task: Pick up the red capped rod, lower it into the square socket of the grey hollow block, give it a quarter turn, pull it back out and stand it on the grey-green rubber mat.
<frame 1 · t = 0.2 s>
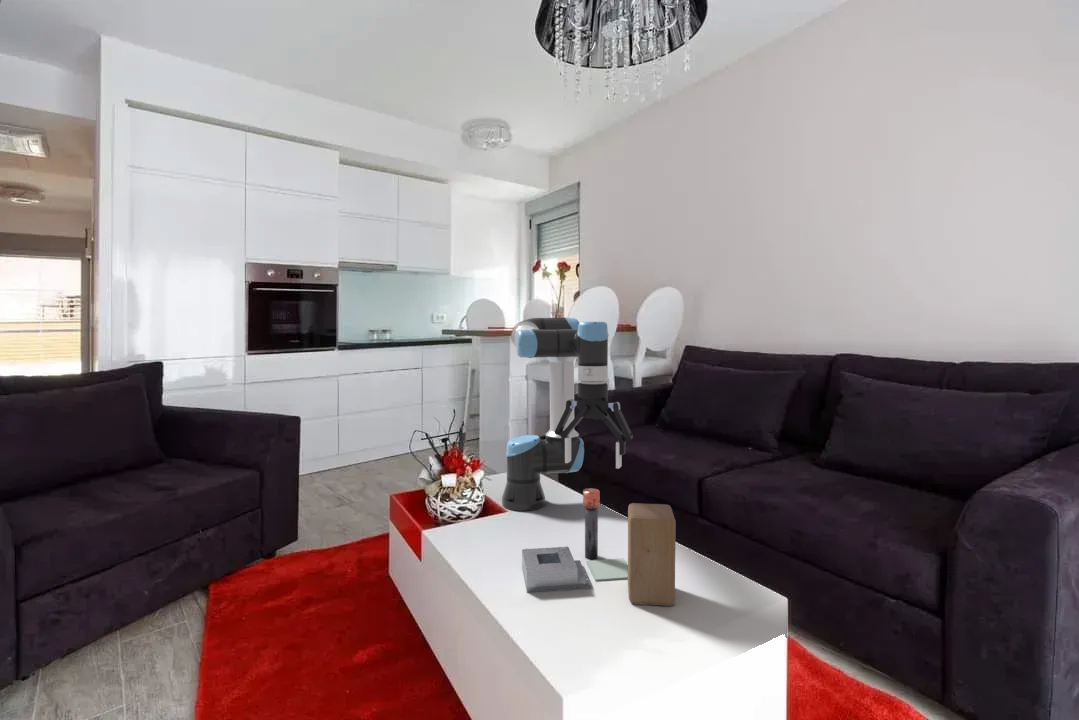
hand: (592, 464, 132), 26 cm above the table, fingers open, 13 cm apart
grey hollow block: (554, 577, 126), on the table
red capped rod: (591, 556, 138), on the table
mat: (610, 570, 130), on the table
wooden block: (650, 595, 118), on the table
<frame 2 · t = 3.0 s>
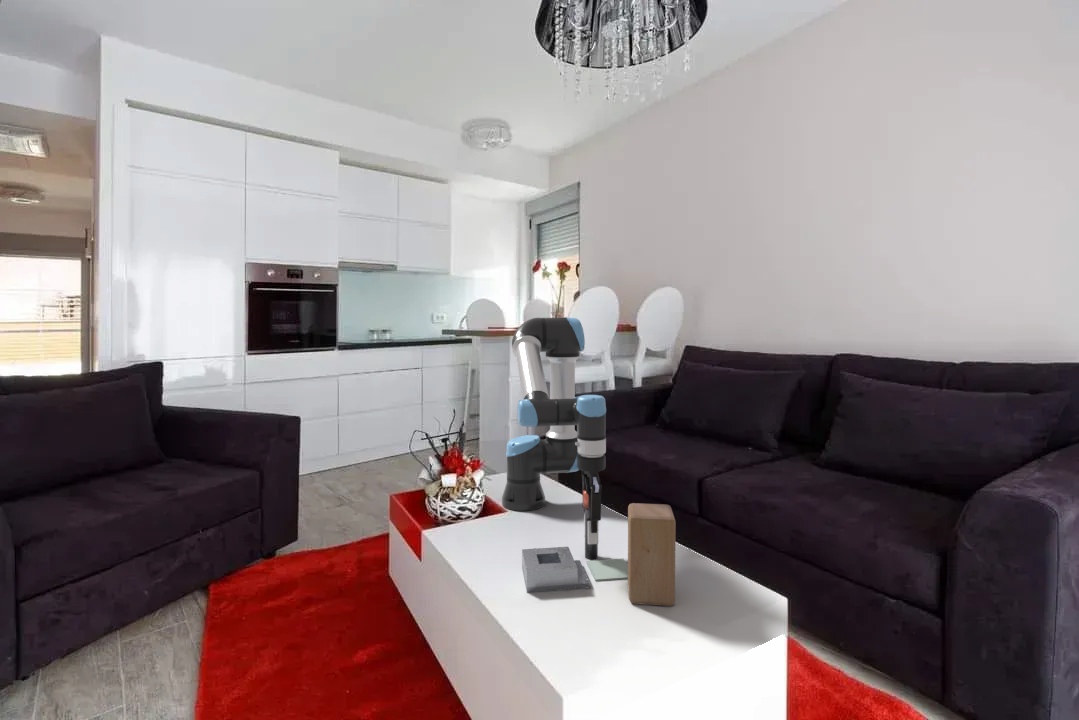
hand: (591, 540, 137), 5 cm above the table, fingers closed on red capped rod, 3 cm apart
red capped rod: (591, 556, 138), on the table, touching gripper
everything else where it was.
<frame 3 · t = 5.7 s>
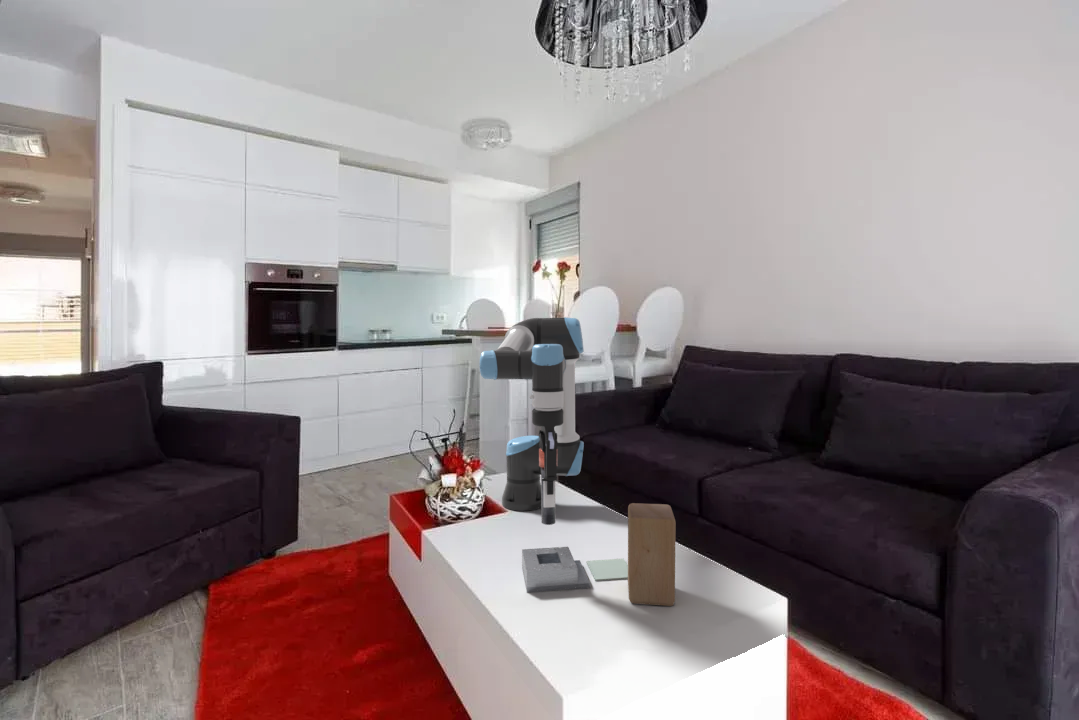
hand: (548, 503, 125), 19 cm above the table, fingers closed on red capped rod, 3 cm apart
red capped rod: (548, 522, 125), point 14 cm above the table, touching gripper
everything else where it was.
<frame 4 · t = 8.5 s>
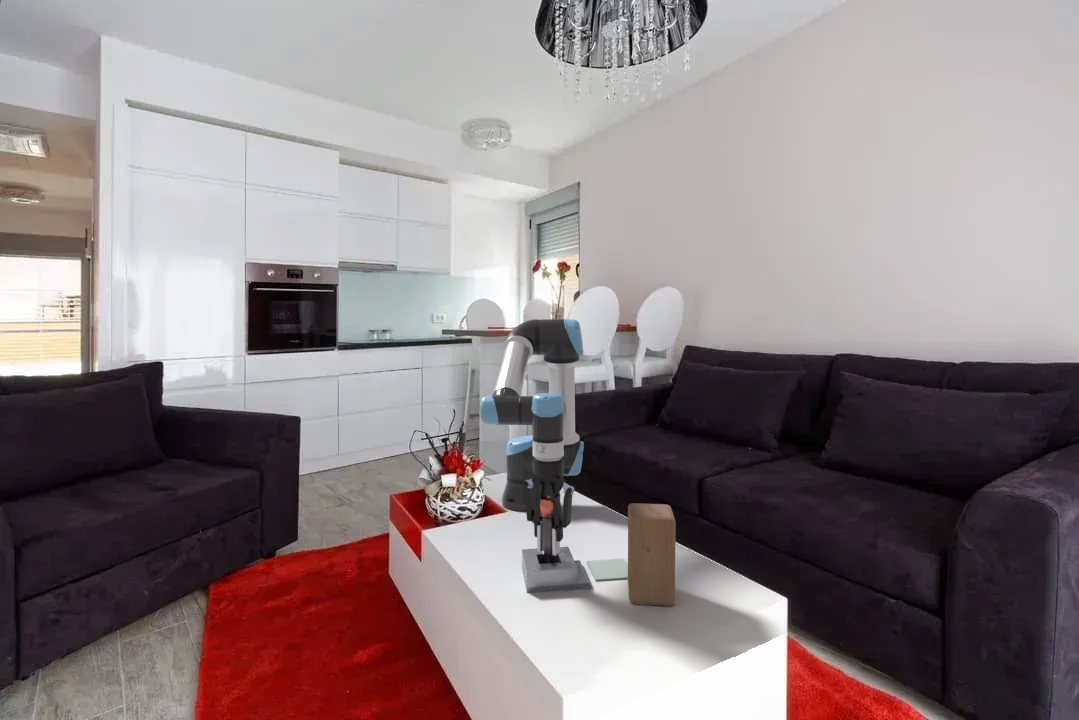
hand: (548, 551, 126), 7 cm above the table, fingers closed on red capped rod, 3 cm apart
red capped rod: (548, 569, 126), point 2 cm above the table, touching gripper
everything else where it was.
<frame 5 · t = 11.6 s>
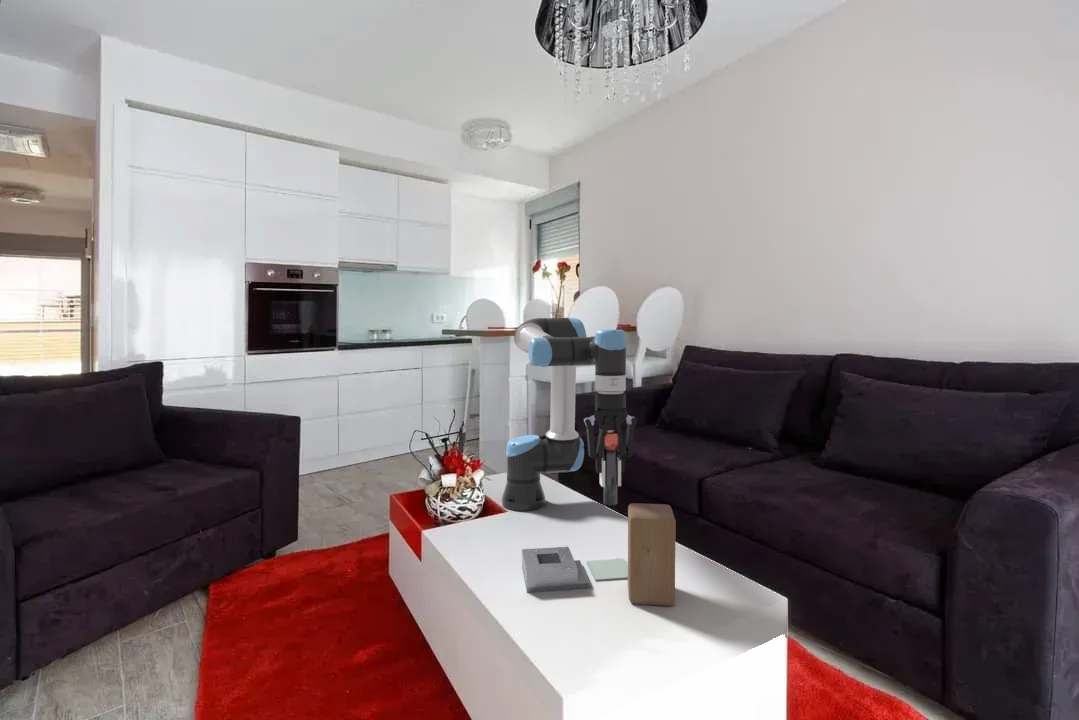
hand: (610, 484, 129), 22 cm above the table, fingers closed on red capped rod, 3 cm apart
red capped rod: (610, 503, 129), point 17 cm above the table, touching gripper
everything else where it was.
when the fingers open (6 cm above the table, at t = 14.2 s): red capped rod stays where it is, resting on mat.
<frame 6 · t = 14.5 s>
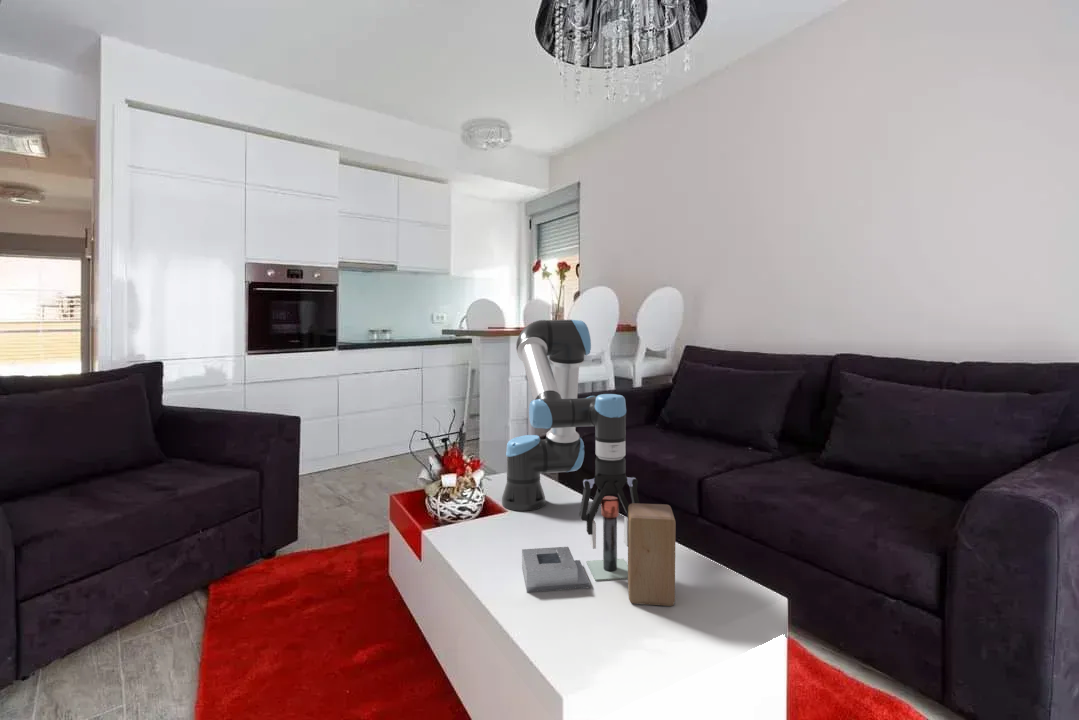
hand: (610, 545, 130), 6 cm above the table, fingers open, 8 cm apart
red capped rod: (610, 568, 130), resting on mat
everything else where it was.
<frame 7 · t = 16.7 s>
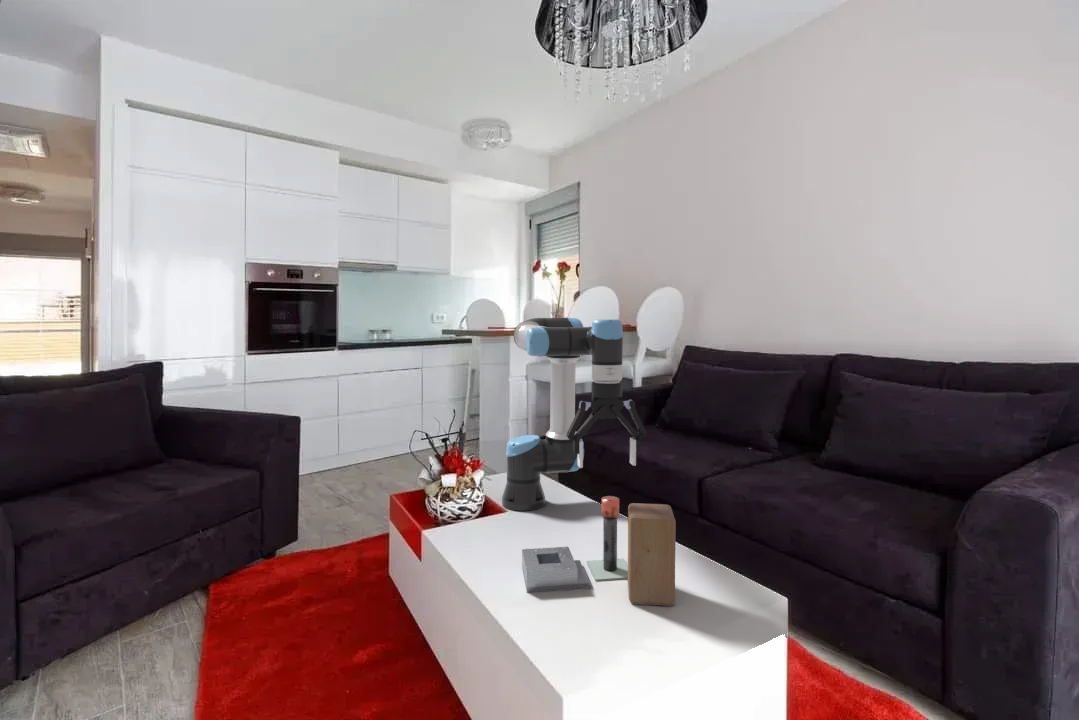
hand: (606, 465, 129), 27 cm above the table, fingers open, 13 cm apart
nothing on the table moved.
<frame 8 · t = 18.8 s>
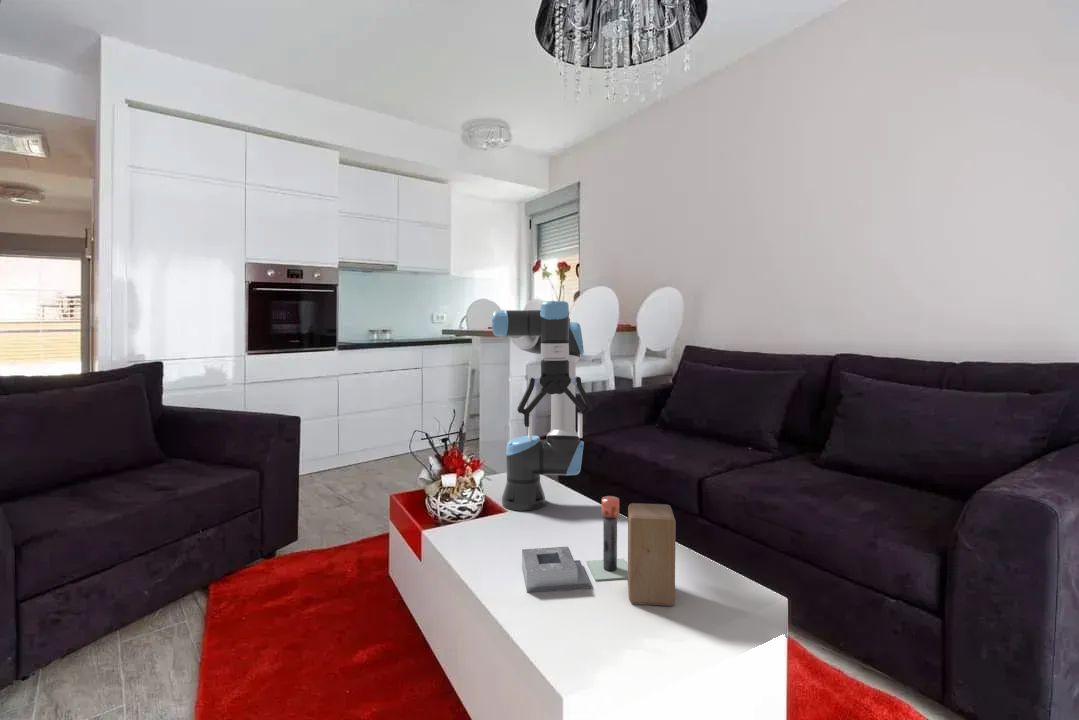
hand: (555, 438, 139), 32 cm above the table, fingers open, 13 cm apart
nothing on the table moved.
at the end: red capped rod inside the target area on the mat (0.0 cm from its centre), point 0.4 cm above the mat's base; red capped rod tilted 0°; the gripper is holding nothing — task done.
